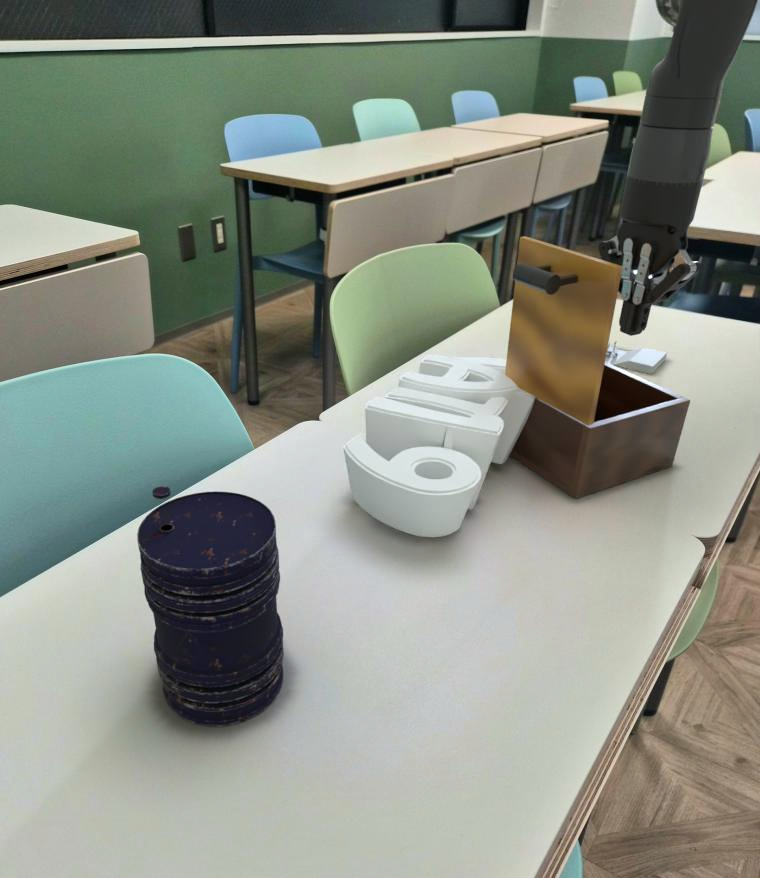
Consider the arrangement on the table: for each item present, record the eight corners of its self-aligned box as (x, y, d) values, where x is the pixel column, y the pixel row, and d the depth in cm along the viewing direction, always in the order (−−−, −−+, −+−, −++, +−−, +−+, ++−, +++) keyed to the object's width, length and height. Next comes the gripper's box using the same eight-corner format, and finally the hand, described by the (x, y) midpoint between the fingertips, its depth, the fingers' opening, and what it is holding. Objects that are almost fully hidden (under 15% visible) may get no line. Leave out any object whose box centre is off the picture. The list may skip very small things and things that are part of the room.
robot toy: (651, 374, 115) (654, 358, 114) (578, 356, 121) (580, 342, 120) (665, 360, 120) (668, 345, 119) (594, 344, 126) (597, 330, 125)
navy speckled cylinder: (288, 636, 64) (280, 455, 54) (281, 727, 55) (271, 531, 46) (173, 637, 63) (145, 455, 54) (149, 728, 55) (111, 532, 46)
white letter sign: (446, 403, 103) (452, 332, 98) (561, 431, 96) (574, 355, 91) (308, 521, 78) (306, 432, 72) (451, 571, 70) (460, 477, 65)
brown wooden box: (589, 421, 100) (602, 360, 96) (672, 466, 90) (690, 399, 85) (497, 447, 94) (506, 382, 89) (575, 499, 83) (590, 428, 79)
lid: (525, 236, 80) (487, 242, 78) (622, 266, 70) (582, 274, 68) (509, 378, 89) (474, 387, 87) (593, 424, 79) (556, 435, 76)
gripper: (744, 180, 73) (699, 345, 82) (641, 163, 83) (611, 312, 92) (693, 186, 70) (652, 357, 79) (592, 167, 80) (566, 321, 89)
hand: (630, 332), depth 85 cm, fingers closed
